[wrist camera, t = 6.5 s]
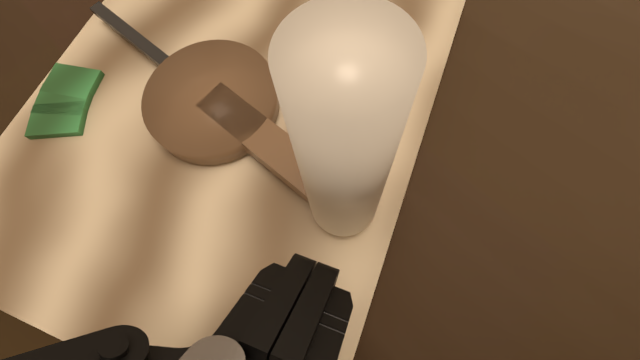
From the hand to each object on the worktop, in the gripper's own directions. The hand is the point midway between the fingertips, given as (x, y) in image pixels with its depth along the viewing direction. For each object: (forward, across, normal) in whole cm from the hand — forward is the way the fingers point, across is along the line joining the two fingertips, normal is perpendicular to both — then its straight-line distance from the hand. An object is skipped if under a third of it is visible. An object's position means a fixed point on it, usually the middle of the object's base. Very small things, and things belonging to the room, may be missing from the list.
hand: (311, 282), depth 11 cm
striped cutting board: (+9, +9, 0) cm, 13 cm away
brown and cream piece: (+8, +9, -2) cm, 12 cm away
